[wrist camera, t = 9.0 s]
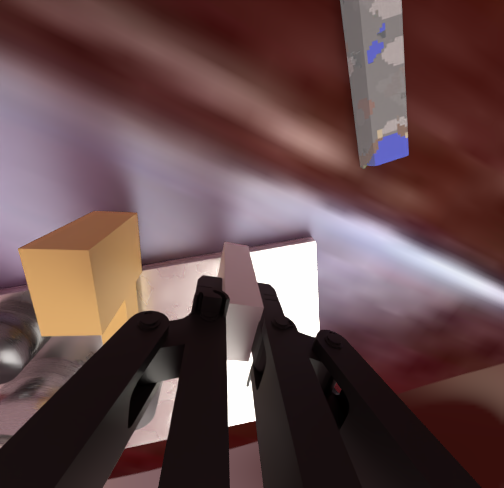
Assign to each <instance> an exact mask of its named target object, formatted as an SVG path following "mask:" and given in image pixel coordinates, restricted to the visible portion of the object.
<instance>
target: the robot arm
mask: <svg viewBox="0 0 504 488" xmlns="http://www.w3.org/2000/svg"><path fill="white" fill-rule="evenodd" d="M251 352H252V359H253V361H252V365H251V368H250V372H249V375H248V379H247V383H246V387H249V384H250V381H251V385H252V393H253V402H254V410H255V419H256V427H257V436H258V444H259V453H260V461H261V469H262V478H263V487H264V488H481V487H480V485H479V484H478V483H477V482H476V481H475V480H474V479H473V478H472V477H471V476H470V475H469V473H468V472H467V471H466V470H465V469H464V468H463V467H462V466H461V465H460V464H459V462H458V461H457V460H456V459H455V458H454V457H453V456H452V455H451V454H450V453H449V452H448V451H447V449H445V447H444V446H443V445H442V444H441V443H440V442H439V441H438V440H437V439H436V437H435V436H434V435H433V434H432V433H431V432H430V431H429V430H428V429H427V428H426V426H425V425H423V423H422V422H421V421H420V420H419V419H418V418H417V417H416V416H415V414H414V413H413V412H412V411H411V410H410V409H409V408H408V407H407V406H406V405H405V404H404V402H403V401H402V400H401V399H400V398H399V397H398V396H397V395H396V394H395V393H394V392H393V391H392V389H391V388H390V387H389V386H388V385H387V384H386V383H385V382H384V381H383V380H382V379H381V377H380V376H379V375H378V374H377V373H376V372H375V371H374V370H373V369H372V368H371V367H370V365H369V364H368V363H367V362H366V361H365V360H364V359H363V358H362V357H361V356H360V355H359V353H358V352H357V351H356V350H355V349H354V348H353V347H352V346H351V345H350V344H349V343H348V341H347V340H346V339H344V338H343V337H342V336H341V335H339V334H337V333H336V332H333V331H330V330H321V331H319V332H318V333H317V334H316V337H312V336H309V335H306V334H304V333H301V332H299V331H298V329H297V327H296V325H295V323H294V322H293V321H292V320H291V319H289V318H288V317H286V316H285V315H284V312H283V309H282V307H281V304H280V302H279V298H278V297H277V293H276V290H275V289H274V288H273V287H272V286H271V285H270V284H266V283H259V282H257V279H256V275H255V271H254V267H253V263H252V259H251V256H250V252H249V248H248V246H247V245H241V244H235V243H229V242H224V246H223V251H222V256H221V261H220V267H219V272H218V277H213V276H206V275H202V276H201V277H200V278H199V279H198V281H197V286H196V292H195V294H194V299H193V305H192V311H191V313H190V314H189V315H187V316H186V317H184V318H181V319H178V320H171V321H169V319H168V317H167V316H166V315H165V314H163V313H160V312H158V311H143V312H139V313H136V314H135V315H133V316H132V317H131V318H130V319H129V320H128V321H127V322H126V323H125V324H124V325H123V326H122V327H121V328H120V329H119V330H118V331H117V332H116V333H115V334H114V335H113V336H112V337H111V338H110V339H109V340H108V341H107V342H106V343H105V344H104V345H103V346H102V347H101V348H100V349H99V350H98V351H97V352H96V353H95V354H94V355H93V356H92V357H91V358H90V359H89V360H88V361H87V362H86V363H85V364H84V365H83V366H82V367H81V368H80V369H79V370H78V371H77V372H76V373H75V374H74V375H73V376H72V377H71V378H70V379H69V380H68V381H67V382H66V383H65V384H64V385H63V386H62V387H61V388H60V389H59V390H58V391H57V392H56V393H55V394H54V395H53V396H52V397H51V398H50V399H49V400H48V401H47V402H46V403H45V404H44V405H43V406H42V407H41V408H40V409H39V410H38V411H37V412H36V413H35V414H34V415H33V416H32V417H31V418H30V419H29V420H28V421H27V422H26V423H25V424H24V425H23V426H22V427H21V428H20V429H19V430H18V431H17V432H16V433H15V434H14V435H13V436H12V437H11V438H10V439H9V440H8V441H7V442H6V443H5V444H4V445H3V446H2V447H1V448H0V488H103V486H104V484H105V483H106V481H107V479H108V477H109V476H110V474H111V472H112V470H113V468H114V467H115V465H116V463H117V461H118V459H119V458H120V456H121V454H122V452H123V450H124V449H125V447H126V445H127V443H128V442H129V440H130V438H131V436H132V434H133V433H134V431H135V429H136V427H137V425H138V424H139V422H140V420H141V418H142V417H143V415H144V413H145V411H146V409H147V408H148V406H149V404H150V402H151V400H152V399H153V397H154V395H155V393H156V392H157V390H158V388H159V386H160V384H161V381H165V380H170V379H174V378H179V380H178V385H177V390H176V396H175V401H174V406H173V412H172V417H171V422H170V428H169V433H168V438H167V443H166V449H165V454H164V459H163V465H162V470H161V475H160V481H159V486H158V488H230V479H229V434H228V388H227V360H233V361H244V362H249V359H250V355H251ZM336 382H337V384H338V385H339V386H340V388H341V389H342V390H341V392H340V393H338V392H337V391H336V390H335V388H334V386H335V384H336Z"/></svg>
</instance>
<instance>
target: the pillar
mask: <svg viewBox="0 0 504 488" xmlns="http://www.w3.org/2000/svg"><path fill="white" fill-rule="evenodd" d="M340 3H341V11H342V20H343V28H344V36H345V44H346V53H347V61H348V69H349V77H350V86H351V94H352V102H353V110H354V119H355V127H356V135H357V143H358V152H359V160H360V167H363V169H364V168H366V166H368V165H369V166H377V165H380V164H384V163H387V162H390V161H393V160H396V159H399V158H402V157H405V156H408V155H409V151H408V130H407V108H406V87H405V66H404V44H403V23H402V1H401V0H340Z"/></svg>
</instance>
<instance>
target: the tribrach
mask: <svg viewBox="0 0 504 488" xmlns="http://www.w3.org/2000/svg"><path fill="white" fill-rule="evenodd" d="M248 248H249V252H250V256H251V259H252V263H253V267H254V271H255V275H256V279H257V282H259V283H266V284H270V285H271V286H272V287H273V288H274V289H275V290H276V293H277V297H278V298H279V302H280V304H281V307H282V309H283V312H284V315H285V316H286V317H288V318H289V319H291V320H292V321H293V322H294V323H295V325H296V327H297V329H298V331H299V332H301V333H304V334H306V335H309V336H312V337H316V334H317V333H318V332H319V307H318V282H317V257H316V241H315V240H314V239H313V238H312V237H305V238H300V239H294V240H288V241H282V242H276V243H270V244H264V245H258V246H252V247H248ZM221 256H222V252H217V253H211V254H205V255H199V256H193V257H187V258H181V259H176V260H170V261H164V262H158V263H152V264H146V265H142V273H141V275H140V276H139V278H138V279H137V281H136V291H137V302H138V312H143V311H158V312H160V313H163V314H165V315H166V316H167V317H168V319H169V321H171V320H178V319H181V318H184V317H186V316H187V315H189V314H190V313H191V311H192V305H193V299H194V294H195V292H196V286H197V281H198V279H199V278H200V277H201V276H202V275H206V276H213V277H218V272H219V267H220V261H221ZM102 346H103V342H102V336H101V335H89V336H41V333H40V329H39V325H38V322H37V318H36V314H35V310H34V307H33V303H32V299H31V295H30V292H29V288H28V285H22V286H16V287H10V288H4V289H0V448H1V447H2V446H3V445H4V444H5V443H6V442H7V441H8V440H9V439H10V438H11V437H12V436H13V435H14V434H15V433H16V432H17V431H18V430H19V429H20V428H21V427H22V426H23V425H24V424H25V423H26V422H27V421H28V420H29V419H30V418H31V417H32V416H33V415H34V414H35V413H36V412H37V411H38V410H39V409H40V408H41V407H42V406H43V405H44V404H45V403H46V402H47V401H48V400H49V399H50V398H51V397H52V396H53V395H54V394H55V393H56V392H57V391H58V390H59V389H60V388H61V387H62V386H63V385H64V384H65V383H66V382H67V381H68V380H69V379H70V378H71V377H72V376H73V375H74V374H75V373H76V372H77V371H78V370H79V369H80V368H81V367H82V366H83V365H84V364H85V363H86V362H87V361H88V360H89V359H90V358H91V357H92V356H93V355H94V354H95V353H96V352H97V351H98V350H99V349H100V348H101V347H102ZM252 361H253V359H252V352H251V355H250V359H249V362H244V361H233V360H227V388H228V426H232V425H237V424H241V423H246V422H251V421H255V420H256V419H255V410H254V402H253V393H252V385H251V381H250V384H249V387H246V383H247V379H248V375H249V372H250V368H251V365H252ZM178 380H179V378H174V379H170V380H165V381H163V383H162V387H161V391H160V396H159V400H158V404H157V408H156V412H155V415H154V417H153V419H152V420H151V422H150V423H148V424H147V425H146V426H144V427H143V428H141V429H138V430H135V431H134V433H133V434H132V436H131V438H130V440H129V442H128V443H127V445H126V447H125V448H129V447H134V446H138V445H143V444H148V443H152V442H157V441H162V440H166V439H167V438H168V433H169V428H170V422H171V417H172V412H173V406H174V401H175V396H176V390H177V385H178Z"/></svg>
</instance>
